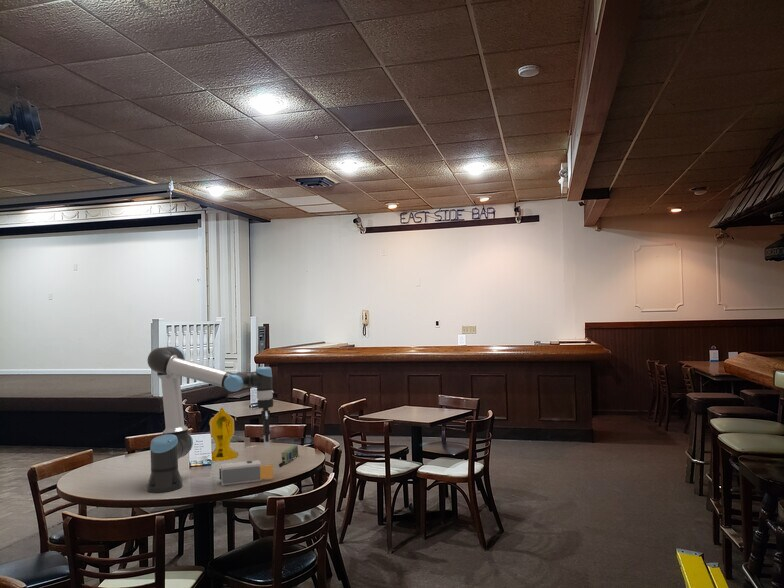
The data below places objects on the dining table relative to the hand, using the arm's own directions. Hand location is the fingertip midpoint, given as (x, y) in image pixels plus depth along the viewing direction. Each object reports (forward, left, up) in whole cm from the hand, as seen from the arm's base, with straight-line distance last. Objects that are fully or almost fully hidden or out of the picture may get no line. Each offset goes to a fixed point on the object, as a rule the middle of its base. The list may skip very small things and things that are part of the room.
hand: (267, 448), depth 277 cm
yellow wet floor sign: (-21, +57, -14) cm, 63 cm away
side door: (-9, -5, -13) cm, 17 cm away
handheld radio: (+13, +30, -15) cm, 36 cm away
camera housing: (-12, -1, -14) cm, 19 cm away
